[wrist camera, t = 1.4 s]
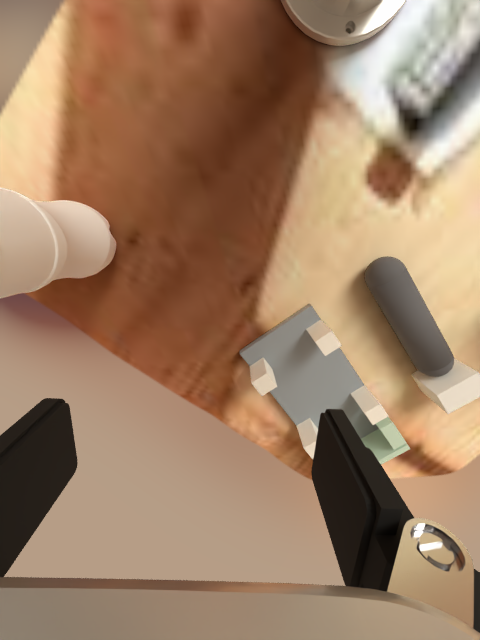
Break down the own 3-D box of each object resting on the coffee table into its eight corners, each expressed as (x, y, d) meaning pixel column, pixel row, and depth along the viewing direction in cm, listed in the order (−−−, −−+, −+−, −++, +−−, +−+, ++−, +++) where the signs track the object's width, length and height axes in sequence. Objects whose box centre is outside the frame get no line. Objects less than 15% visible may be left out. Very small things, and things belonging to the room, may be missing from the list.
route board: (309, 303, 32) (321, 315, 28) (388, 421, 37) (410, 448, 32) (239, 350, 34) (240, 369, 29) (323, 457, 39) (336, 488, 34)
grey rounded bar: (349, 271, 31) (368, 277, 27) (387, 245, 31) (413, 247, 26) (421, 391, 36) (448, 414, 31) (456, 371, 35) (488, 392, 31)
